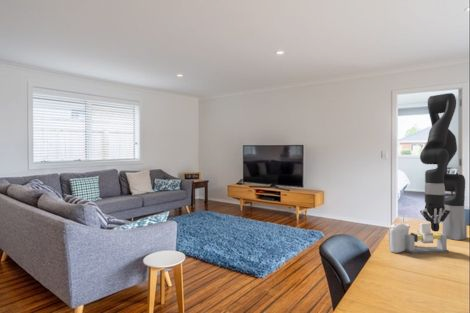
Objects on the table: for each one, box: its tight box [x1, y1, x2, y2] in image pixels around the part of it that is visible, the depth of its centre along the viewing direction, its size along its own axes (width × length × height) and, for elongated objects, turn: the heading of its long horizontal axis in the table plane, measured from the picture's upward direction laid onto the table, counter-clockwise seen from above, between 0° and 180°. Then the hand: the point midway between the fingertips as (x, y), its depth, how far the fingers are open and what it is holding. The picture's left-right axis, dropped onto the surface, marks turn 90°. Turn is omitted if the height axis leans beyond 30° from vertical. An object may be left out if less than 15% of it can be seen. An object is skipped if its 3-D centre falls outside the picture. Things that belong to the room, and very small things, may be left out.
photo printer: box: [388, 222, 407, 254], centre depth 131 cm, size 10×4×12 cm, turn 124°
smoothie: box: [401, 215, 411, 234], centre depth 139 cm, size 6×6×14 cm
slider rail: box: [404, 232, 449, 255], centre depth 129 cm, size 17×5×8 cm, turn 93°
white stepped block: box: [417, 222, 434, 244], centre depth 129 cm, size 4×4×8 cm
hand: (435, 231), depth 129 cm, fingers closed
